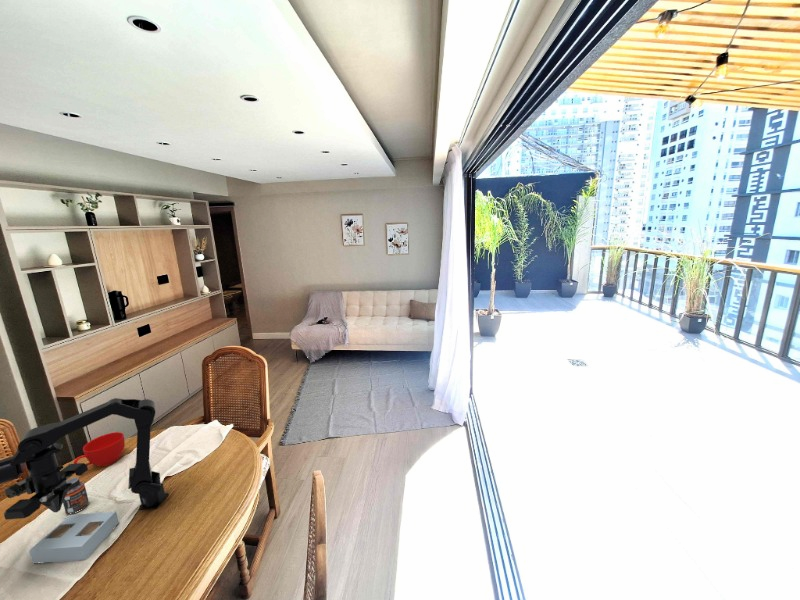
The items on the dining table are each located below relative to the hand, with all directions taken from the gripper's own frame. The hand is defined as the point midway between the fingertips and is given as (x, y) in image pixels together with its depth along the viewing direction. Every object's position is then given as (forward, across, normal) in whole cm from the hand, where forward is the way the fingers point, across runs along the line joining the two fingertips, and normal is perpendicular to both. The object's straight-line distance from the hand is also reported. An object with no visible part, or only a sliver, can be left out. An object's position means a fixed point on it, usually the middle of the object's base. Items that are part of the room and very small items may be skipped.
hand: (57, 511), depth 95 cm
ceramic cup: (+12, -37, -20) cm, 43 cm away
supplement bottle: (+12, -14, -9) cm, 20 cm away
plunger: (+12, 0, 0) cm, 12 cm away
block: (+12, 0, +4) cm, 13 cm away
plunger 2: (+12, 0, +9) cm, 15 cm away
